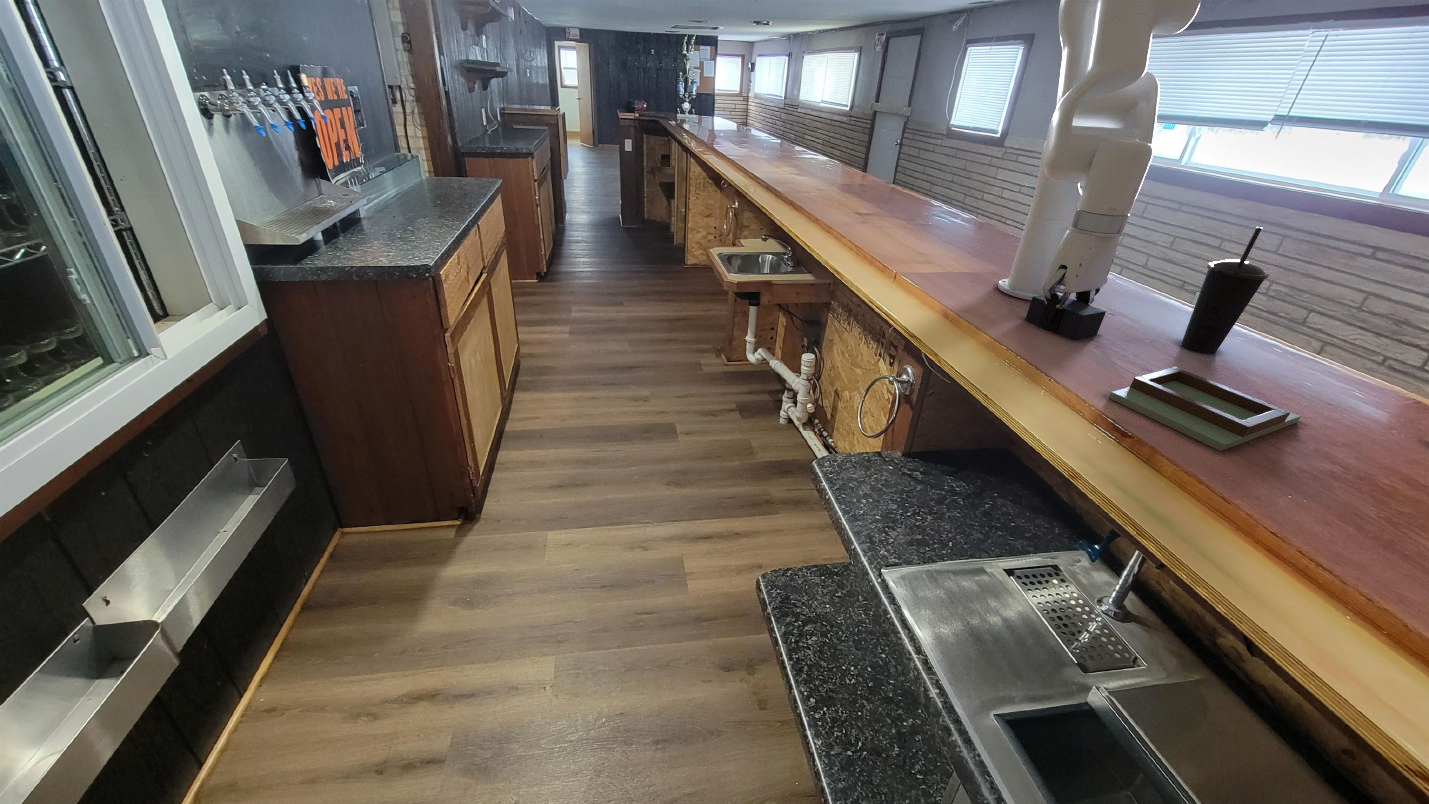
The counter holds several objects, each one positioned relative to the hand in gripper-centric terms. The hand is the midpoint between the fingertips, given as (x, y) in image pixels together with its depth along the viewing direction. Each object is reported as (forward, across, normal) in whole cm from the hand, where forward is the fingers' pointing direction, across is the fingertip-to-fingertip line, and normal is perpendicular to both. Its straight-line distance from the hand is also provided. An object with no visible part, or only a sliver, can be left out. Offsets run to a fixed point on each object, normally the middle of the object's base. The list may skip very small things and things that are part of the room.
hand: (1061, 324), depth 101 cm
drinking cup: (+1, -15, +15) cm, 21 cm away
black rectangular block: (+1, 0, 0) cm, 1 cm away
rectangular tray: (+1, +9, +28) cm, 29 cm away
